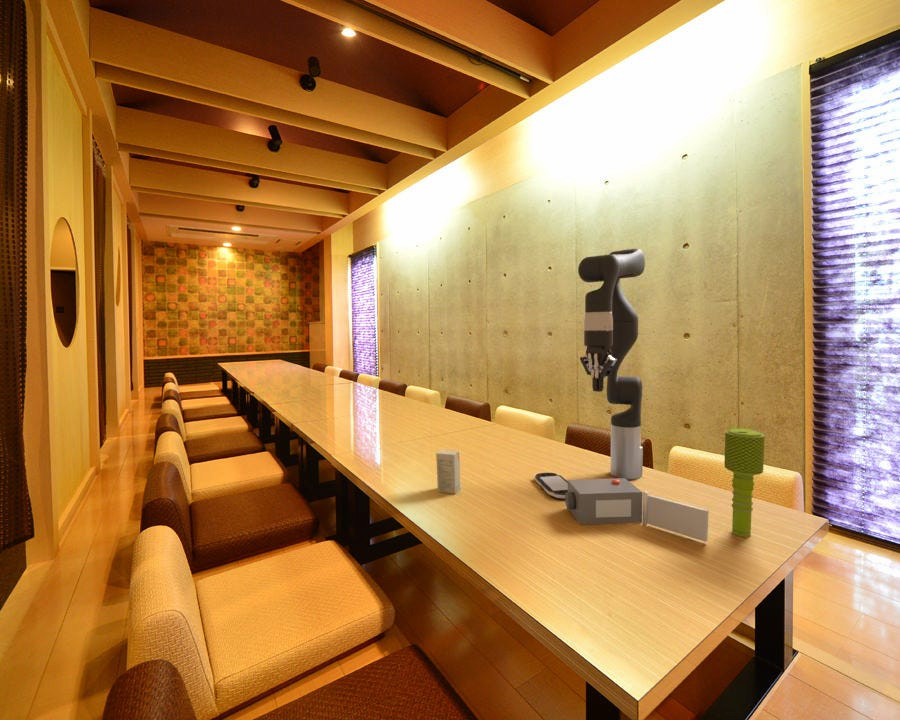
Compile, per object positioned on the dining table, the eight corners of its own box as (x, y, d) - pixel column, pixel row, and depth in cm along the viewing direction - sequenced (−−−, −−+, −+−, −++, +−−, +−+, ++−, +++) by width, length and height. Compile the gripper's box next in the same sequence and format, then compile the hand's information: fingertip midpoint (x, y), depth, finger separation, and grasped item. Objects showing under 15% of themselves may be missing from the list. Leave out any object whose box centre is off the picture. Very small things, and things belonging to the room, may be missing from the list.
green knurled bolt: (762, 544, 96) (766, 435, 95) (722, 536, 100) (725, 432, 99) (759, 529, 103) (762, 428, 101) (722, 522, 107) (725, 425, 105)
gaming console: (531, 479, 141) (531, 472, 141) (557, 477, 142) (557, 470, 142) (553, 502, 122) (552, 494, 122) (582, 500, 123) (582, 491, 123)
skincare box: (461, 489, 132) (460, 451, 131) (455, 494, 128) (454, 455, 127) (442, 486, 135) (441, 449, 134) (436, 491, 131) (435, 452, 130)
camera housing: (561, 508, 117) (561, 477, 117) (624, 506, 118) (625, 475, 117) (573, 525, 107) (574, 491, 107) (642, 523, 108) (643, 489, 107)
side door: (706, 543, 97) (707, 508, 96) (641, 523, 107) (642, 492, 106) (708, 541, 98) (709, 506, 97) (644, 521, 108) (645, 490, 108)
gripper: (571, 329, 122) (571, 389, 123) (604, 329, 110) (604, 395, 111) (592, 329, 125) (592, 387, 126) (627, 328, 112) (626, 393, 114)
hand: (597, 391), depth 118 cm, fingers closed
